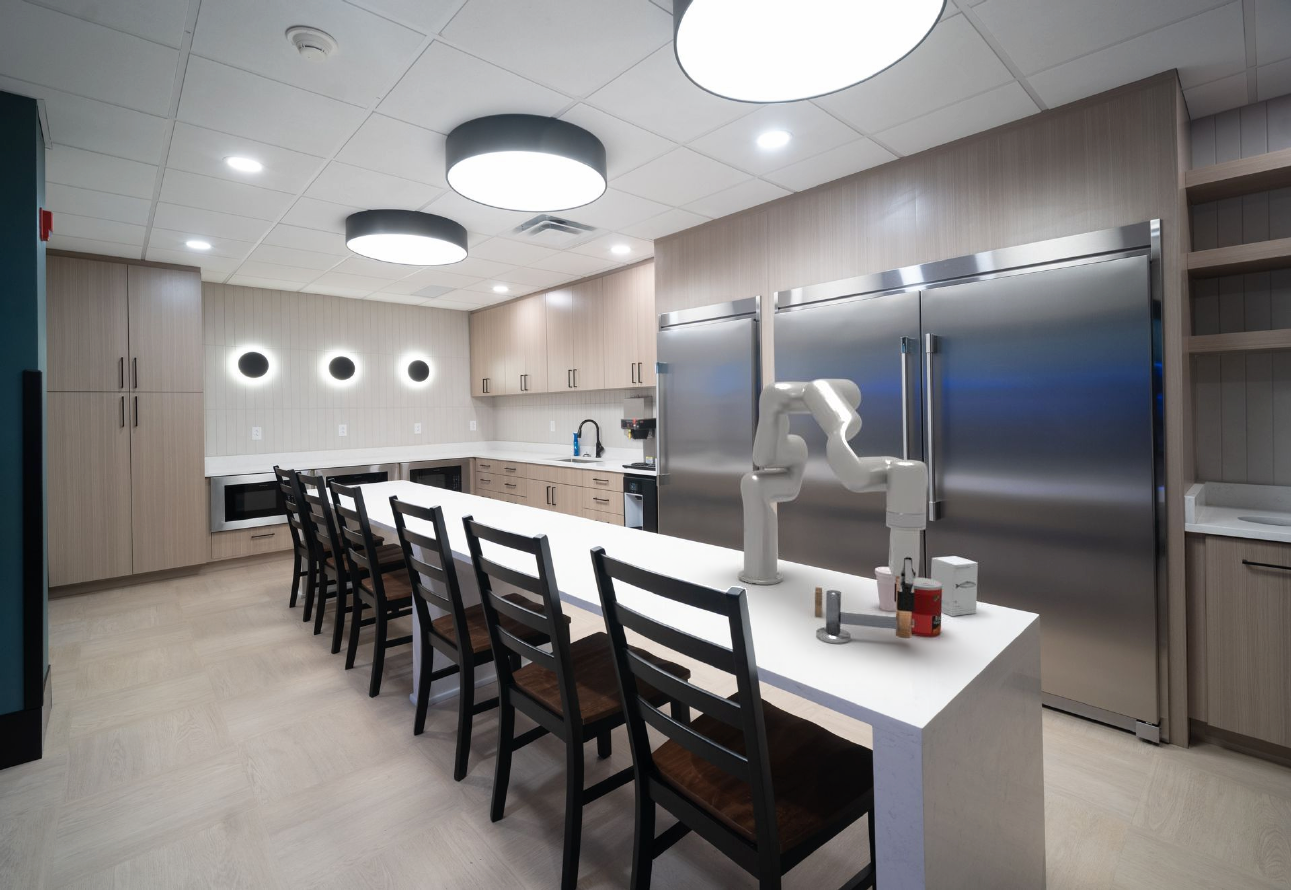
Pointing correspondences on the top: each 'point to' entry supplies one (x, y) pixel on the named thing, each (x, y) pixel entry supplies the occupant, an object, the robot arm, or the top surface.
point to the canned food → (927, 607)
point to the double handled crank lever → (864, 617)
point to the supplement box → (956, 584)
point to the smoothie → (885, 588)
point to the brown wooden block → (818, 602)
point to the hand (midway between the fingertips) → (903, 605)
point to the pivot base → (833, 636)
